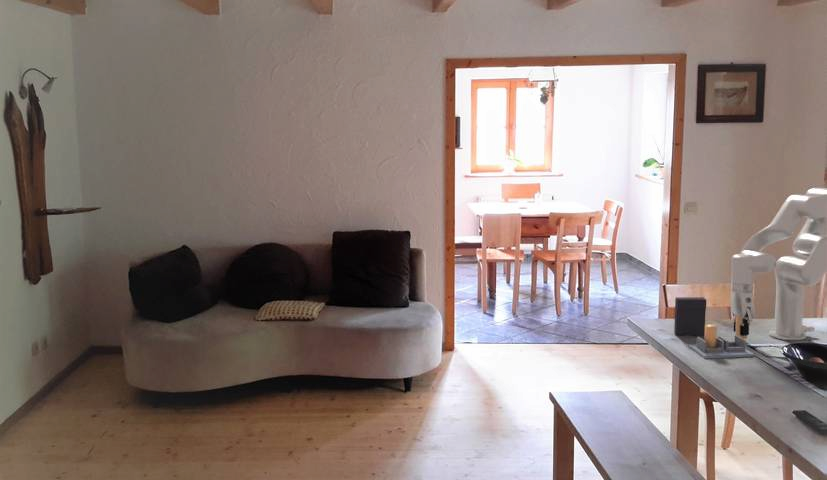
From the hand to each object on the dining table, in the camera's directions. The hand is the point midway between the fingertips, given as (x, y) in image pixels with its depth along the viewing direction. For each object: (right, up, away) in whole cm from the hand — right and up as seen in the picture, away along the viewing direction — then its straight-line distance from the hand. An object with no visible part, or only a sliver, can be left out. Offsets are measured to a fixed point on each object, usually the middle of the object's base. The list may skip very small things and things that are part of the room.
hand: (741, 332), depth 267 cm
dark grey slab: (-15, -2, +12) cm, 19 cm away
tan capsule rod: (0, -2, 0) cm, 2 cm away
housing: (-12, -6, -10) cm, 17 cm away
